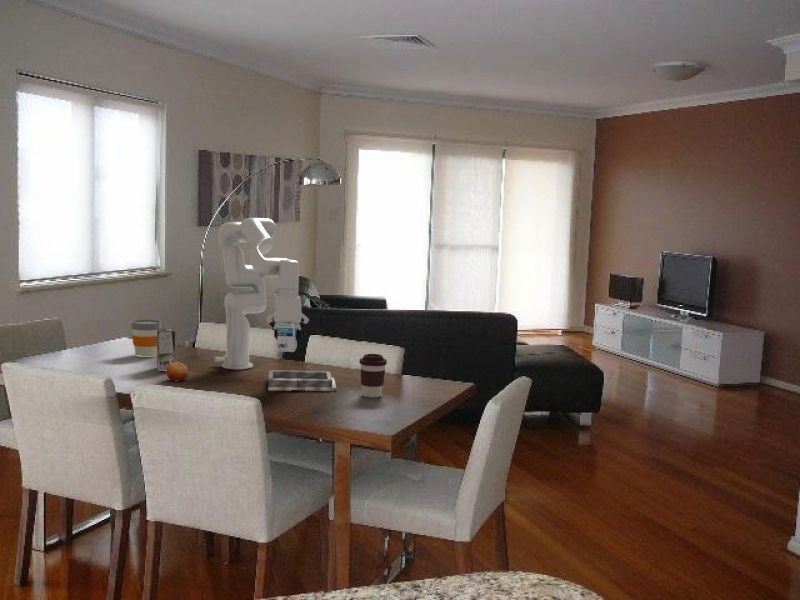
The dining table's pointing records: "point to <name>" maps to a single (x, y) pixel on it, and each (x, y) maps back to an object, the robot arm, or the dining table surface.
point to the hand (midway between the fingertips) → (287, 339)
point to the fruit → (177, 371)
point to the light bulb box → (286, 337)
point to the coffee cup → (372, 375)
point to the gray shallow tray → (301, 380)
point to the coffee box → (165, 348)
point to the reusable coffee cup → (145, 336)
